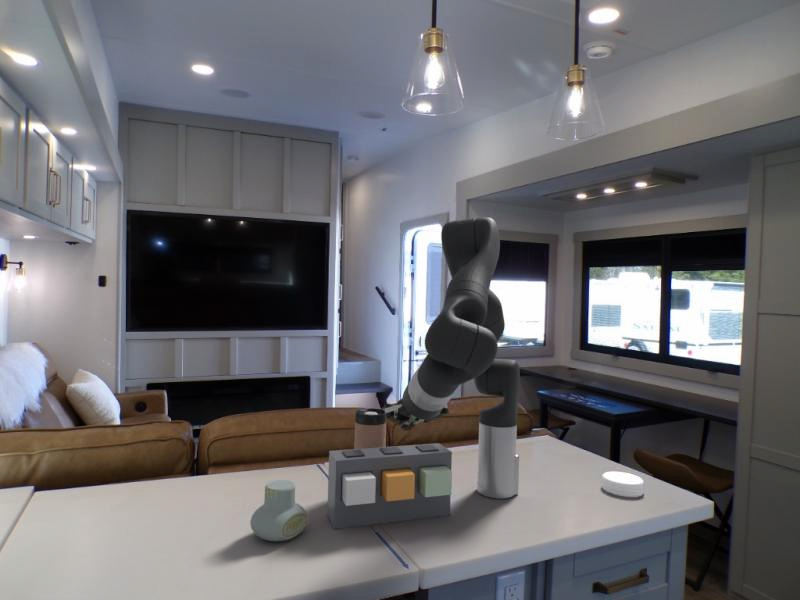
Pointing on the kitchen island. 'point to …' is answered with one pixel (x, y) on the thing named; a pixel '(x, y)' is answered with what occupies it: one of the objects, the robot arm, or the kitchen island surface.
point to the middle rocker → (397, 484)
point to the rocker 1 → (358, 488)
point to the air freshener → (279, 513)
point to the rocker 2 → (434, 480)
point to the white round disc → (622, 484)
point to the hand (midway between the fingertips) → (405, 425)
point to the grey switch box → (375, 463)
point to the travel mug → (370, 429)
